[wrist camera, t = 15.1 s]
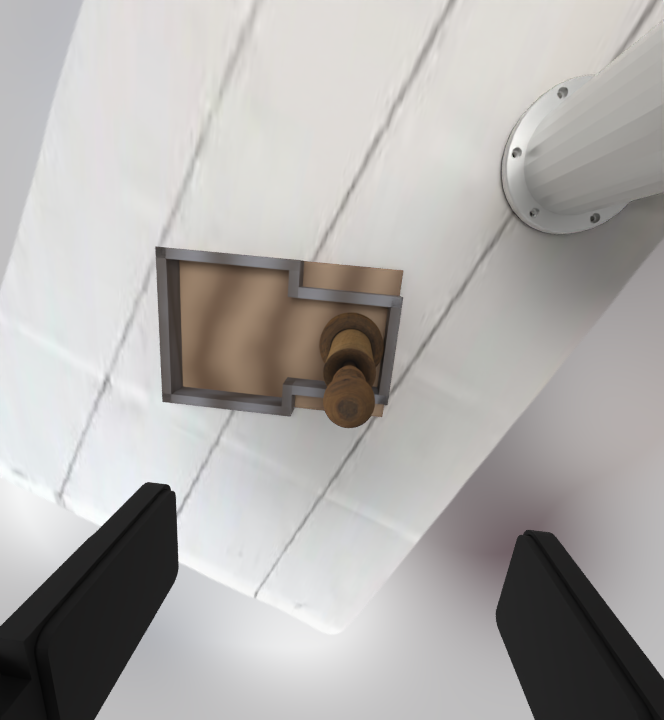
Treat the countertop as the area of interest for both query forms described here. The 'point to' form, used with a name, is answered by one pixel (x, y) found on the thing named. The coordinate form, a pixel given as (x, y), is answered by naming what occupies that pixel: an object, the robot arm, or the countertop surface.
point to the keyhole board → (262, 327)
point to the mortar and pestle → (350, 367)
